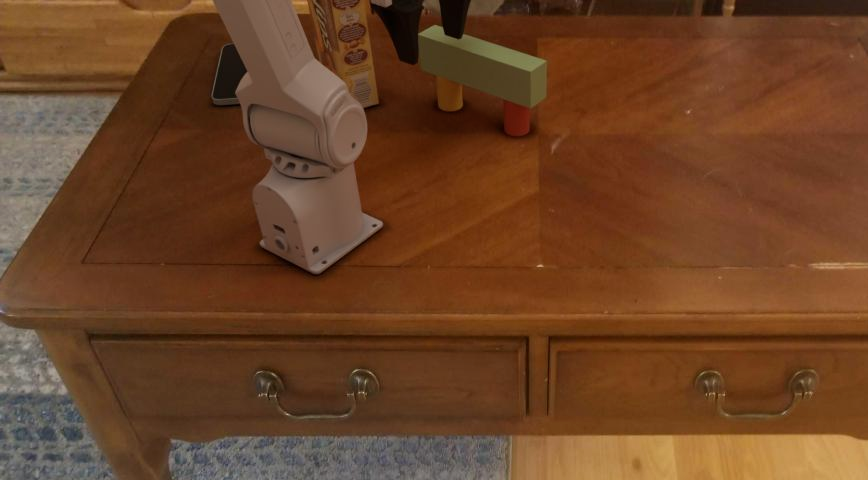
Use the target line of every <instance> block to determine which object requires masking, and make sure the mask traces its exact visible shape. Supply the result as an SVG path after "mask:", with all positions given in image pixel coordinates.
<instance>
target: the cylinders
mask: <svg viewBox="0 0 868 480" xmlns="http://www.w3.org/2000/svg"><path fill="white" fill-rule="evenodd" d="M435 82H436V83H435V84H436V95H437V106H438V109H440V110H441V111H443V112H456V111H459V110H461V109H462V107H463V106H464V103H463V85H462V84H459V83H456V82H454V81H451V80H448V79H445V78H442V77H439V76H437V75H435ZM502 100H503V103H502V104H503V130H504V133H505V134H506V135H509V136H511V137H523V136H526V135H527V134H528V133H530V125H531V124H530V122H531V121H530V118H531V117H530V108H527V107H525V106H522V105H519V104H516V103H513V102H510V101H508V100H505V99H502Z"/></svg>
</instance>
